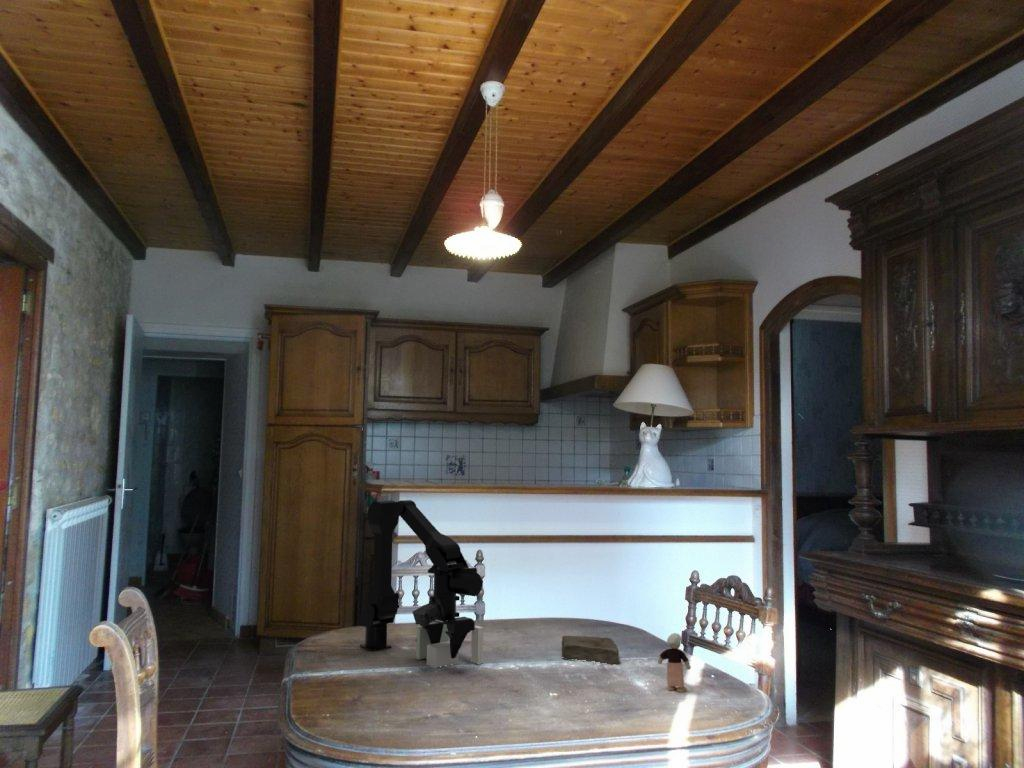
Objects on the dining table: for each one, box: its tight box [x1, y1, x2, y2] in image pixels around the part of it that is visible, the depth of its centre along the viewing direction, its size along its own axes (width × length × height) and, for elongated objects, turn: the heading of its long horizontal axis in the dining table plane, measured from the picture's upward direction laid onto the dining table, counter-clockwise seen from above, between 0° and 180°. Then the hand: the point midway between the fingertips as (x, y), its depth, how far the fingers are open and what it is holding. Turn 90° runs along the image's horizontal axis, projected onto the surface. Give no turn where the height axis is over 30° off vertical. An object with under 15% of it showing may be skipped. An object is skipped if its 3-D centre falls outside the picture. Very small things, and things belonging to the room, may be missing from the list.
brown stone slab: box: [561, 635, 620, 665], centre depth 213 cm, size 17×15×4 cm
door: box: [415, 624, 448, 661], centre depth 210 cm, size 10×2×8 cm, turn 138°
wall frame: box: [447, 620, 484, 665], centre depth 210 cm, size 18×2×9 cm, turn 39°
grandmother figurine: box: [657, 632, 691, 693], centre depth 184 cm, size 8×4×13 cm, turn 71°
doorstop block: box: [426, 640, 460, 669], centre depth 202 cm, size 4×7×5 cm, turn 129°
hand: (444, 655), depth 201 cm, fingers open, 8 cm apart
